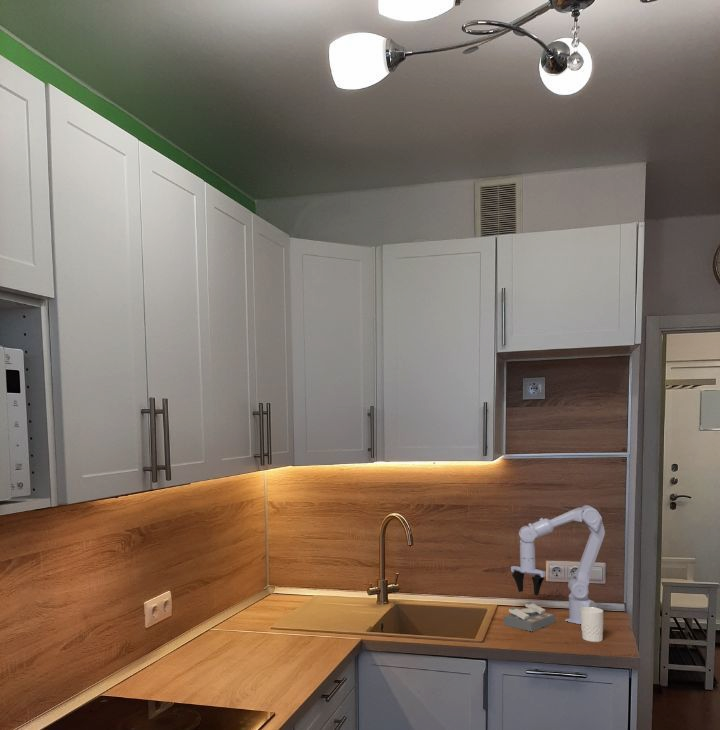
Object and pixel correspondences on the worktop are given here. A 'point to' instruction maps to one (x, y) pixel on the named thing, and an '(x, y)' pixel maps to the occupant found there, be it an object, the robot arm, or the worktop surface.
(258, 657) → the worktop surface
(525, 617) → the left rocker
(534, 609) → the middle rocker
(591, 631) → the white cup
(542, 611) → the right rocker
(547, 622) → the switch box
